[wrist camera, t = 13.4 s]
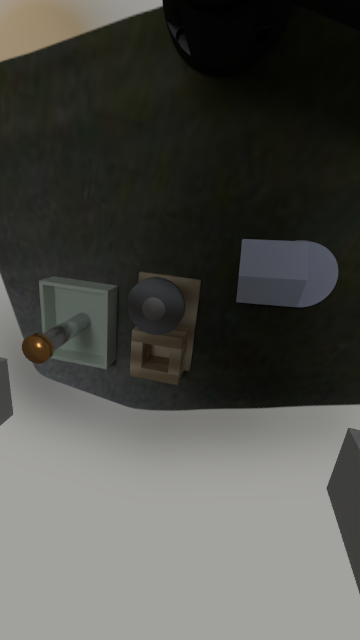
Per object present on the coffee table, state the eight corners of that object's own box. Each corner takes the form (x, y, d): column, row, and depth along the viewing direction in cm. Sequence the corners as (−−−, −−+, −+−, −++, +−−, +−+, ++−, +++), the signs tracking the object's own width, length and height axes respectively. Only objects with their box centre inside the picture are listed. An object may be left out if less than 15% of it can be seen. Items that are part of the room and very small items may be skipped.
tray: (53, 276, 51) (39, 280, 48) (117, 285, 50) (107, 290, 46) (56, 348, 56) (44, 356, 53) (115, 359, 54) (106, 369, 51)
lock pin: (72, 308, 52) (21, 334, 39) (93, 311, 51) (48, 339, 39) (72, 329, 53) (22, 360, 41) (93, 332, 53) (49, 366, 40)
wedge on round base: (236, 296, 46) (324, 303, 44) (235, 308, 40) (338, 317, 38) (242, 237, 43) (336, 241, 41) (242, 240, 37) (353, 245, 35)
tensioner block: (141, 265, 48) (119, 275, 39) (202, 273, 46) (192, 285, 38) (136, 358, 53) (116, 384, 45) (190, 368, 52) (180, 397, 43)
